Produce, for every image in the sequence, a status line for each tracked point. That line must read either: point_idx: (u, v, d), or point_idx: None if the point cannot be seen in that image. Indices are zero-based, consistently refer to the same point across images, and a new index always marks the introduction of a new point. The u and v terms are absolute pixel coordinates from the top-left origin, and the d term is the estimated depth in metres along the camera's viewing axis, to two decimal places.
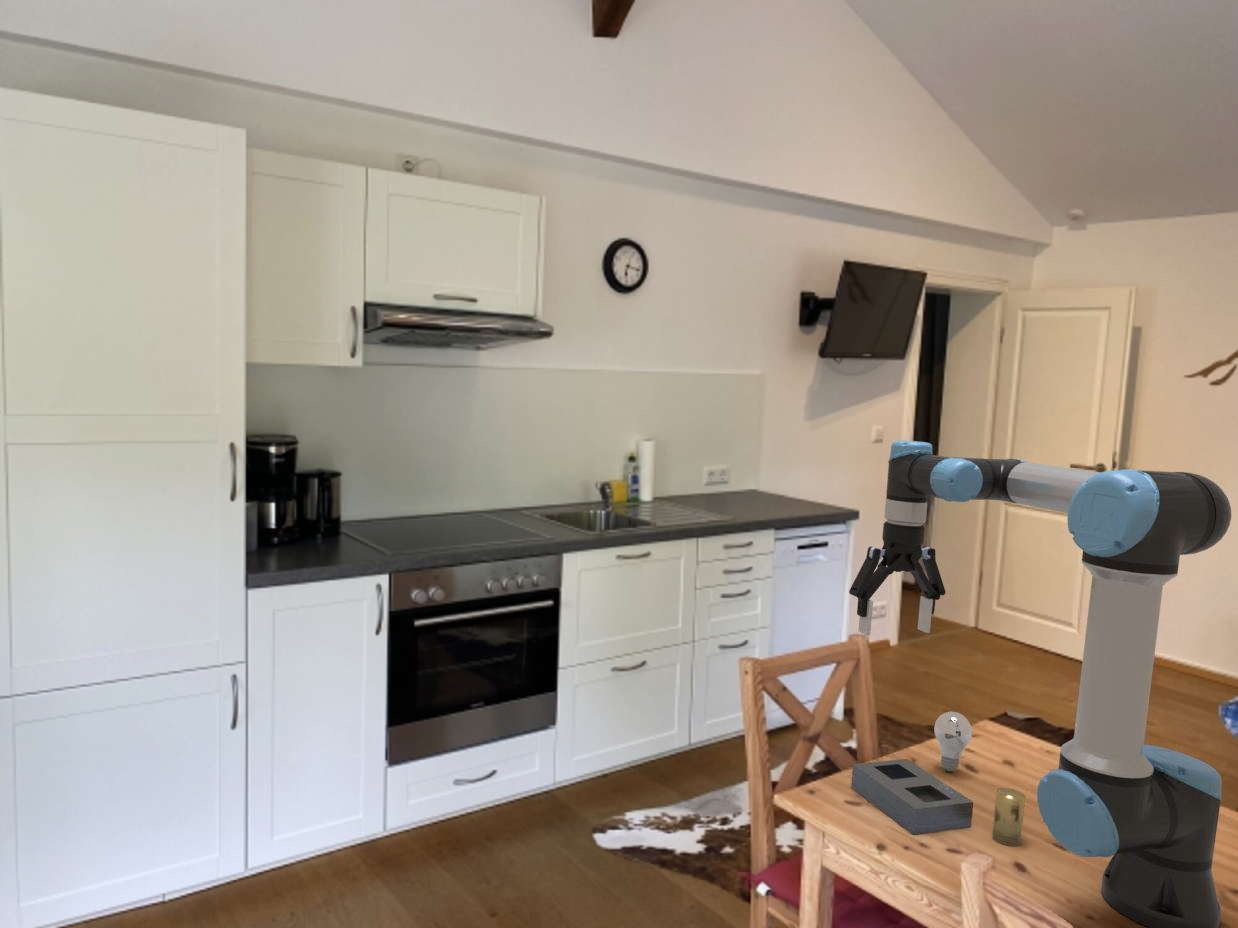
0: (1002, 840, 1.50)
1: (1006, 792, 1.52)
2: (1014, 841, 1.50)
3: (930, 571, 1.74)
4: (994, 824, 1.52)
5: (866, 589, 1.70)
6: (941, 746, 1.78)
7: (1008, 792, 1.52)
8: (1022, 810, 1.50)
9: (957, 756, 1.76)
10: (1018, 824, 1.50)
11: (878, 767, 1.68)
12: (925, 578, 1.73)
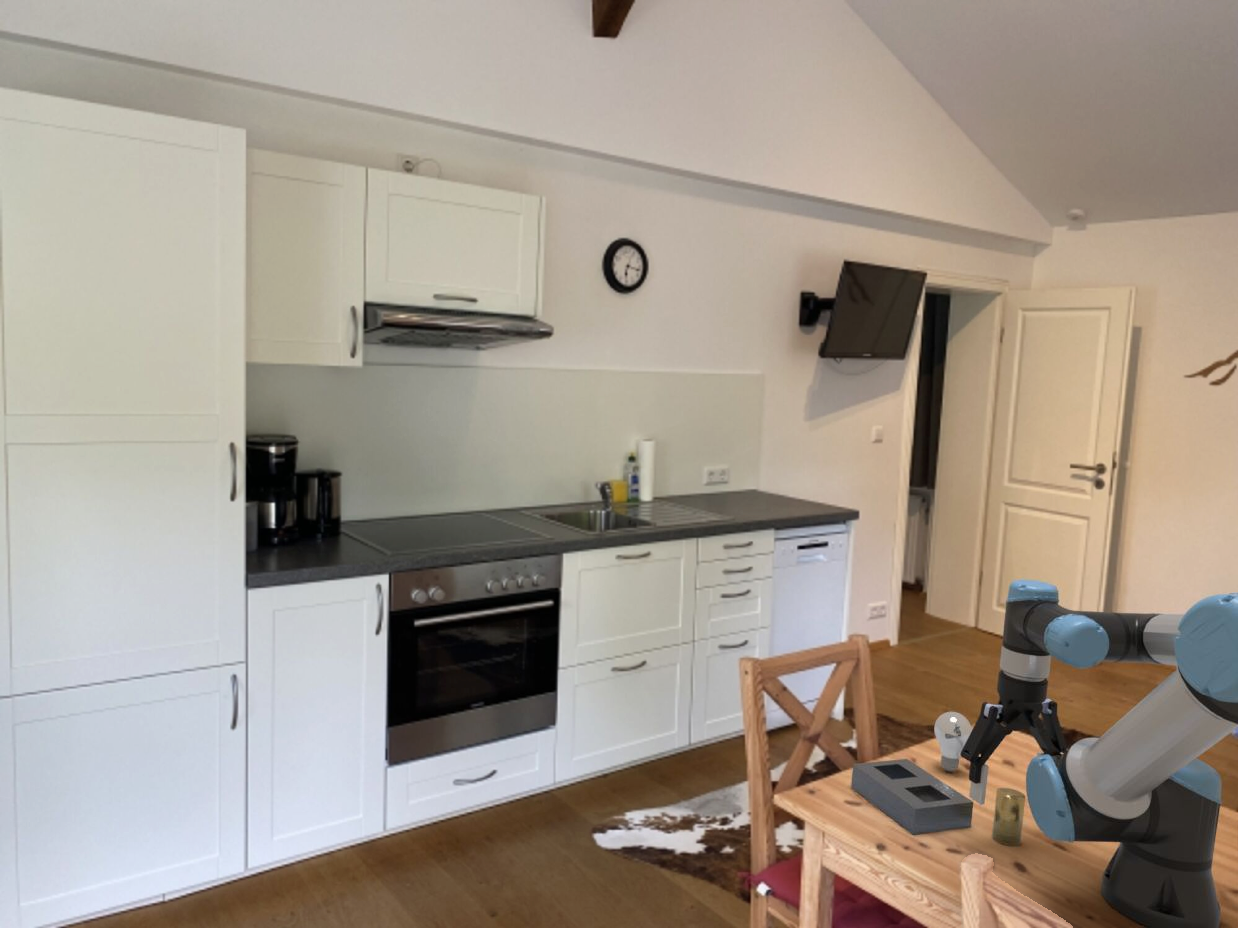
0: (1002, 840, 1.50)
1: (1006, 792, 1.52)
2: (1014, 841, 1.50)
3: (1050, 725, 1.53)
4: (994, 824, 1.52)
5: (980, 752, 1.48)
6: (941, 746, 1.78)
7: (1008, 792, 1.52)
8: (1022, 810, 1.50)
9: (957, 756, 1.76)
10: (1018, 824, 1.50)
11: (878, 767, 1.68)
12: (1045, 735, 1.51)
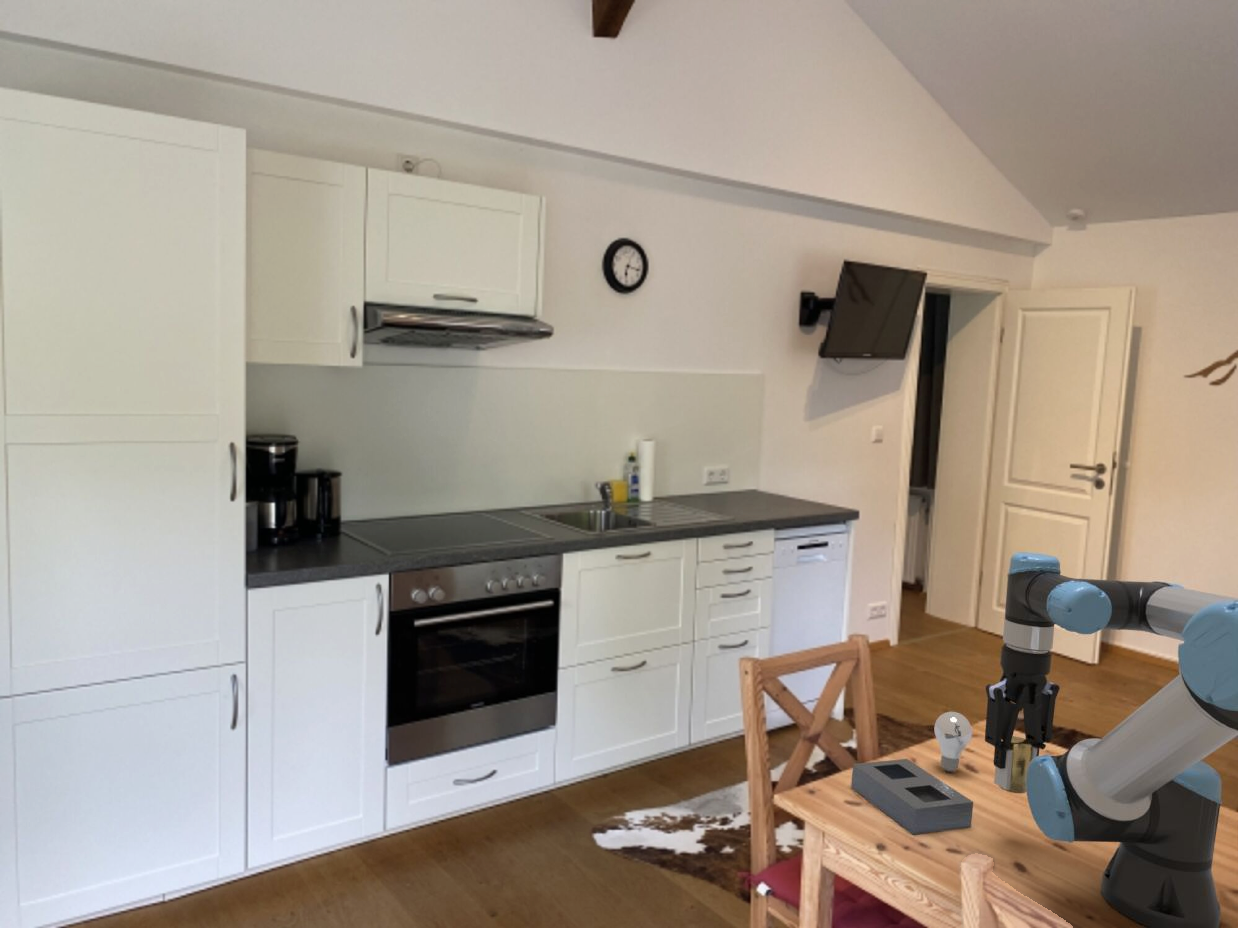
0: None
1: (1012, 740, 1.50)
2: (1020, 788, 1.49)
3: (1043, 709, 1.51)
4: None
5: (1001, 737, 1.48)
6: (941, 746, 1.78)
7: (1014, 740, 1.50)
8: (1028, 757, 1.49)
9: (957, 756, 1.76)
10: (1024, 771, 1.49)
11: (878, 767, 1.68)
12: (1038, 719, 1.50)
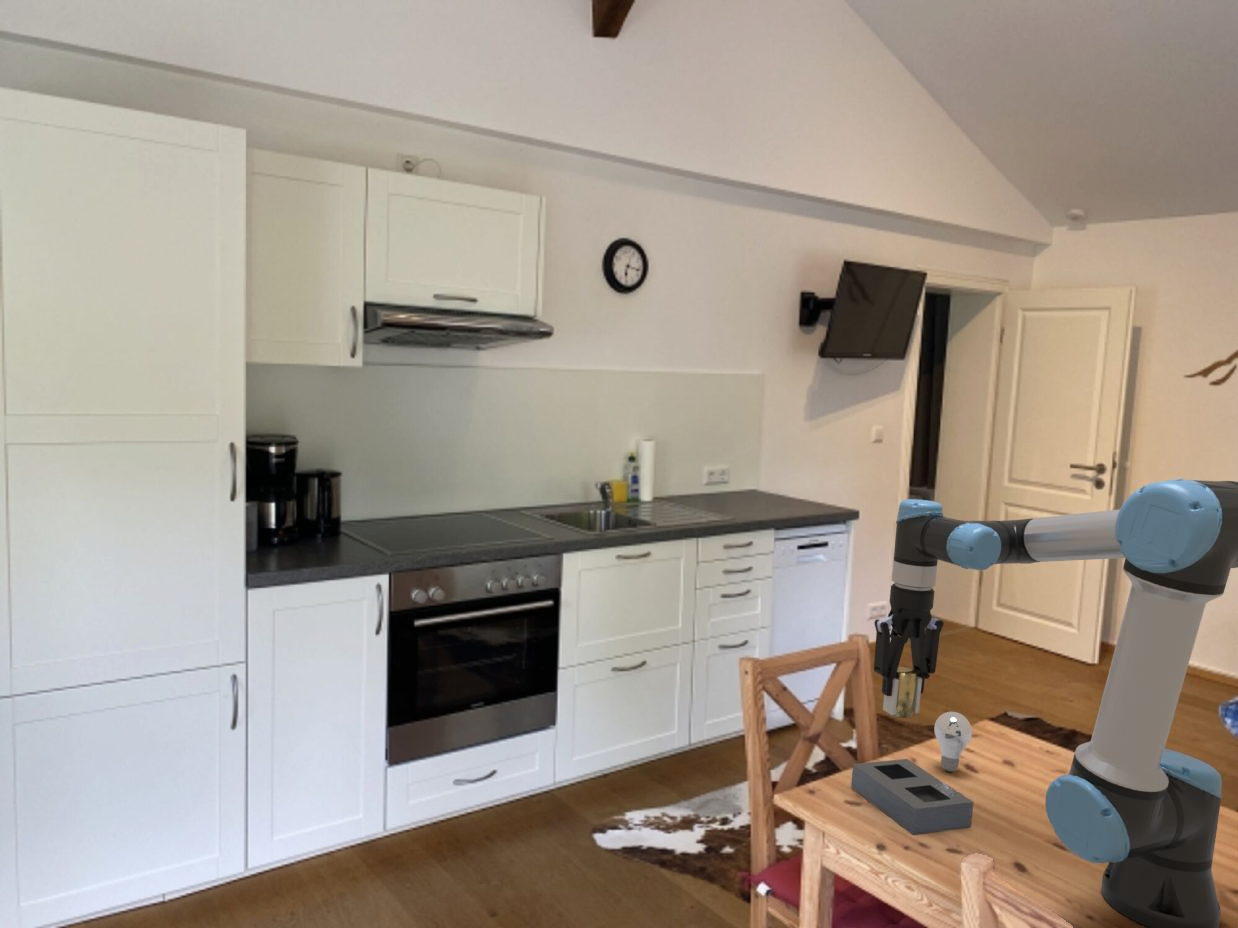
0: None
1: (900, 670, 1.65)
2: (905, 713, 1.63)
3: (929, 643, 1.65)
4: None
5: (888, 667, 1.63)
6: (941, 746, 1.78)
7: (901, 670, 1.65)
8: (913, 685, 1.63)
9: (957, 756, 1.76)
10: (909, 697, 1.63)
11: (878, 767, 1.68)
12: (923, 651, 1.64)
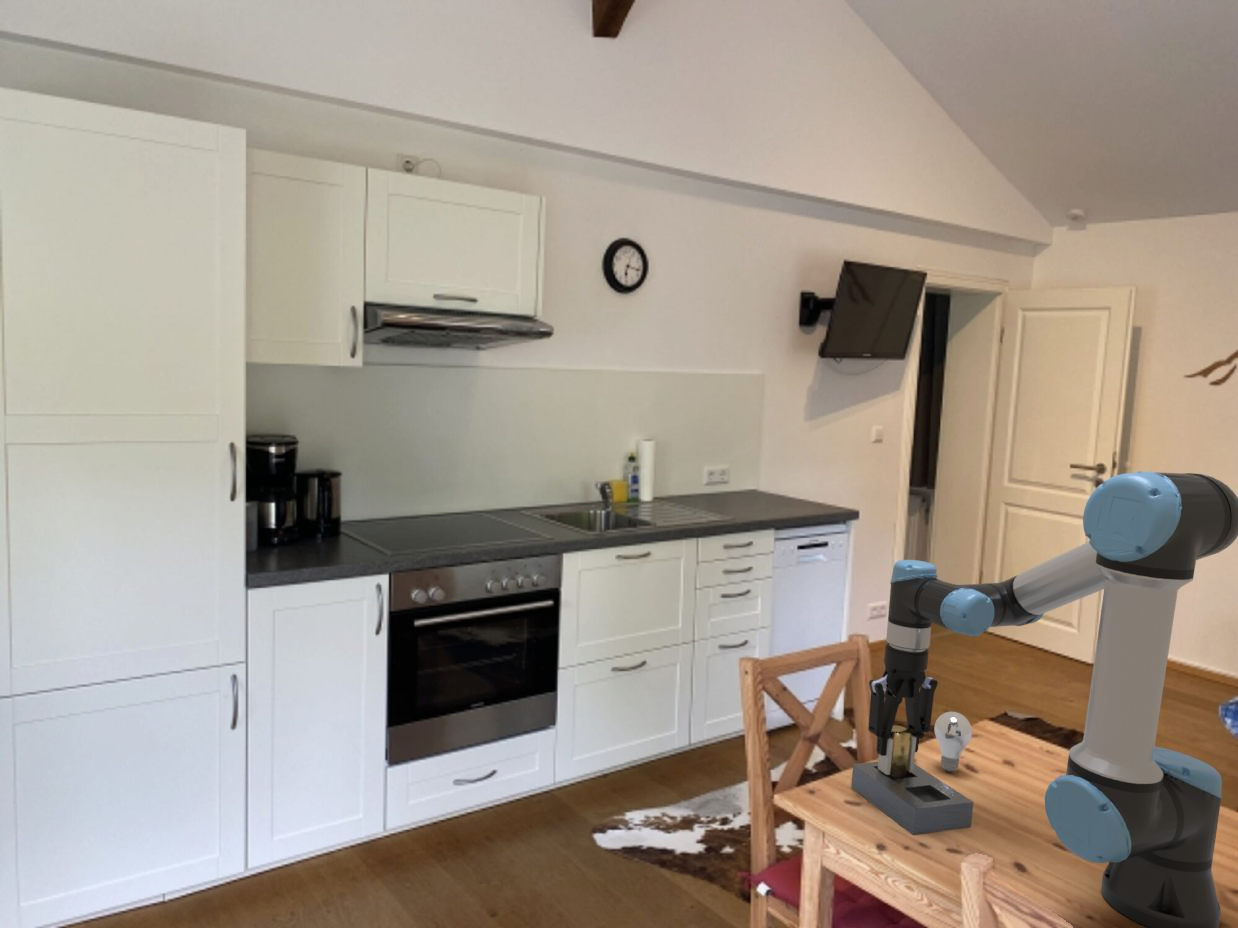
0: None
1: (894, 729, 1.66)
2: (900, 773, 1.64)
3: (923, 702, 1.66)
4: None
5: (883, 727, 1.63)
6: (941, 746, 1.78)
7: (896, 729, 1.66)
8: (907, 744, 1.64)
9: (957, 756, 1.76)
10: (904, 757, 1.64)
11: None
12: (917, 710, 1.65)
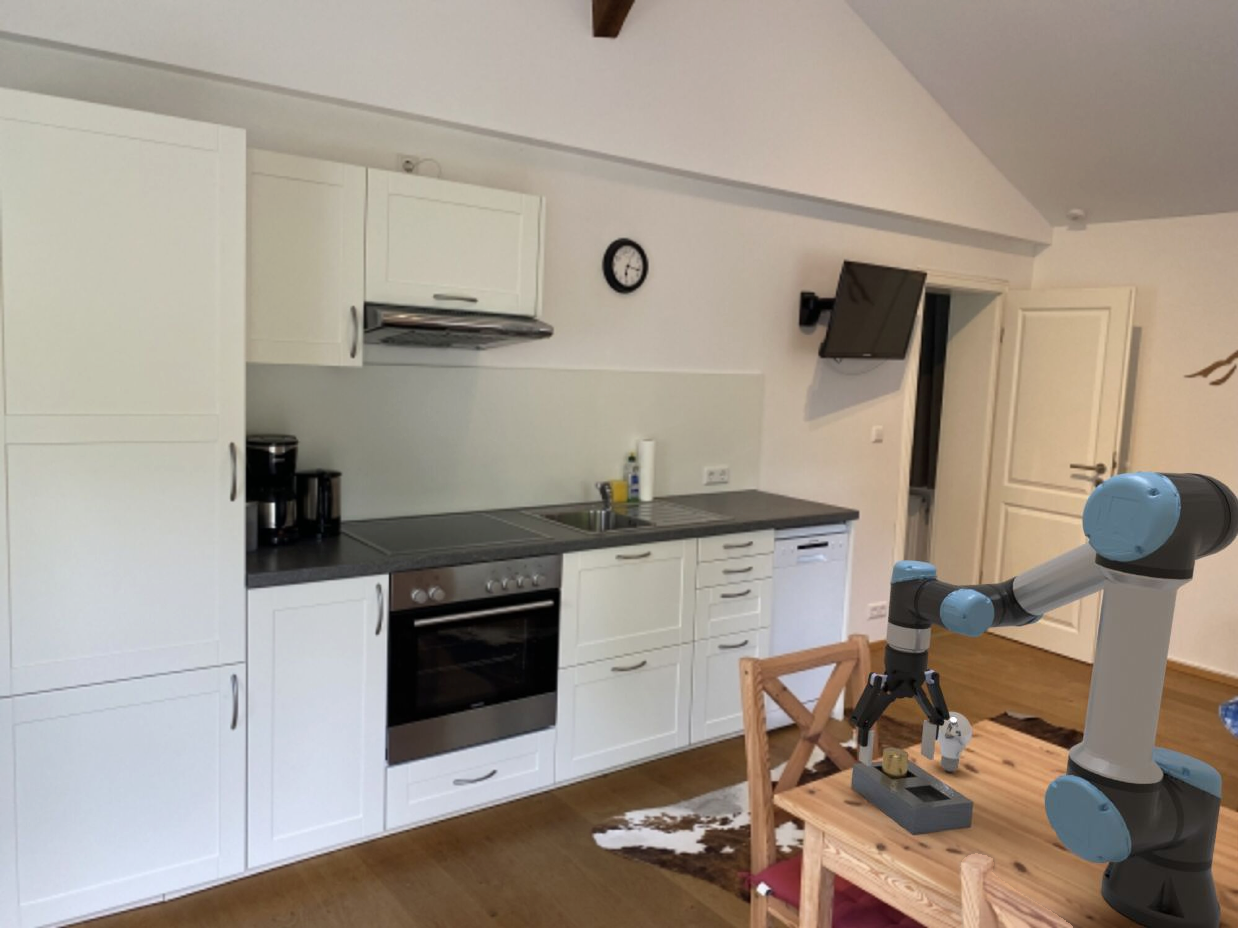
0: None
1: (892, 751, 1.66)
2: None
3: (933, 695, 1.67)
4: None
5: (867, 717, 1.62)
6: (941, 746, 1.78)
7: (893, 751, 1.66)
8: (905, 767, 1.64)
9: (957, 756, 1.76)
10: None
11: (878, 767, 1.68)
12: (929, 703, 1.65)
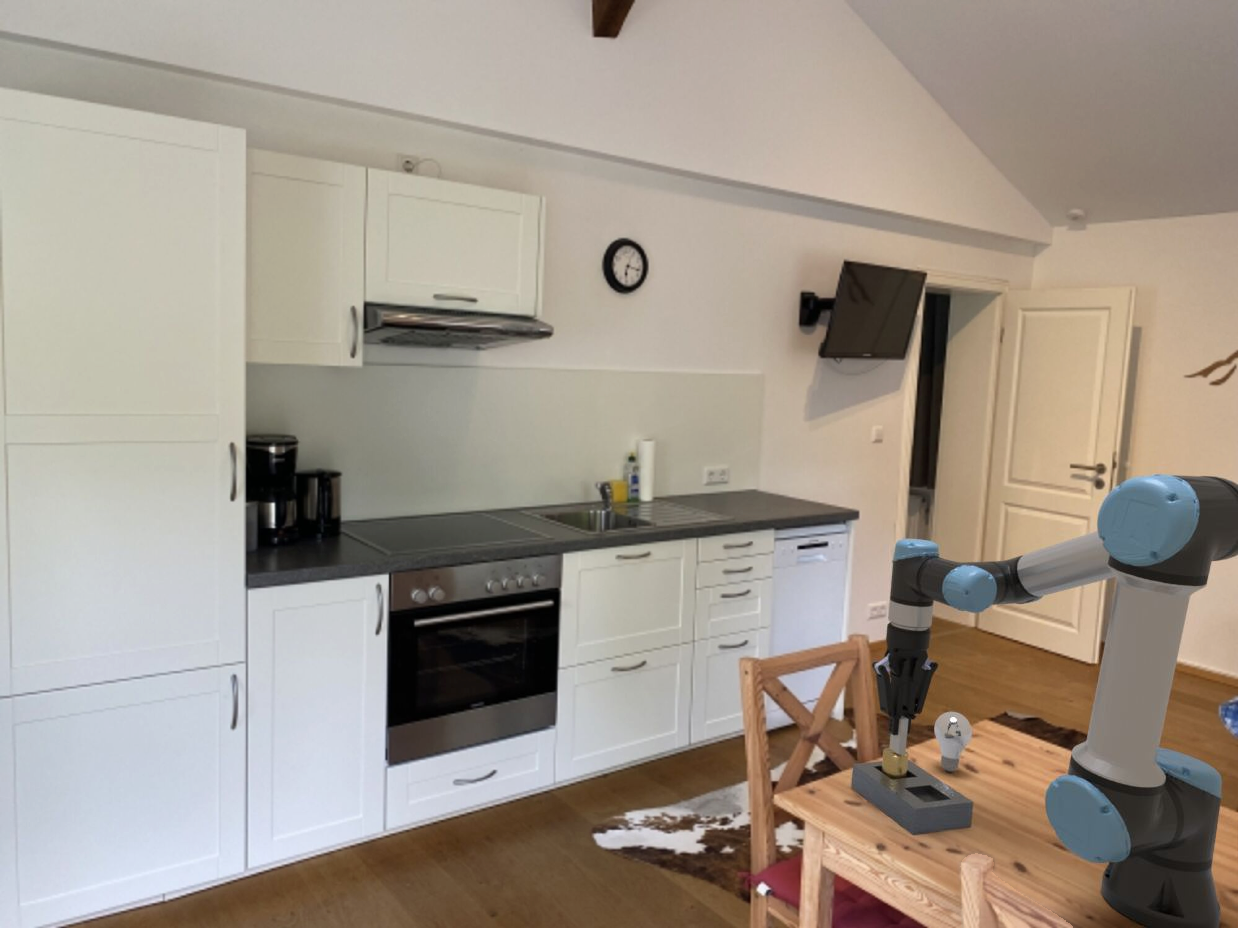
0: None
1: (891, 751, 1.66)
2: None
3: (920, 683, 1.65)
4: None
5: (893, 707, 1.64)
6: (941, 746, 1.78)
7: (893, 751, 1.66)
8: (905, 767, 1.64)
9: (957, 756, 1.76)
10: None
11: (878, 767, 1.68)
12: (914, 691, 1.64)
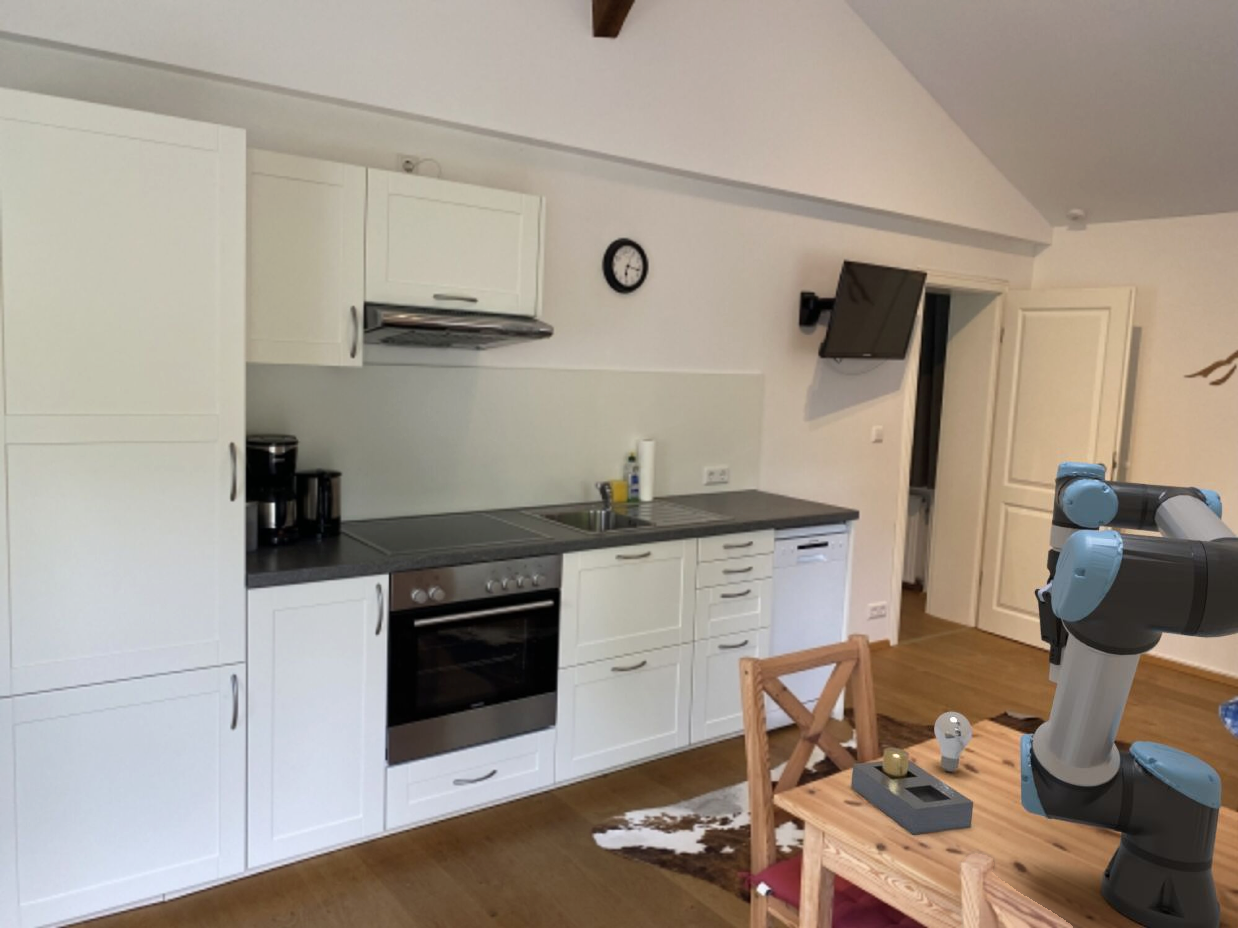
0: None
1: (892, 751, 1.66)
2: None
3: None
4: None
5: None
6: (941, 746, 1.78)
7: (894, 751, 1.66)
8: (905, 767, 1.64)
9: (957, 756, 1.76)
10: None
11: (878, 767, 1.68)
12: None
